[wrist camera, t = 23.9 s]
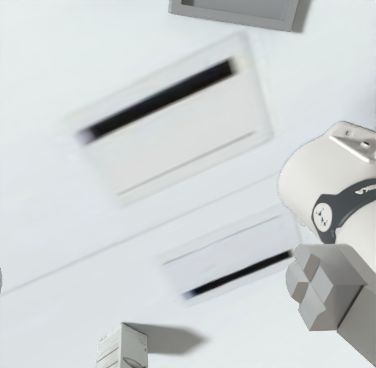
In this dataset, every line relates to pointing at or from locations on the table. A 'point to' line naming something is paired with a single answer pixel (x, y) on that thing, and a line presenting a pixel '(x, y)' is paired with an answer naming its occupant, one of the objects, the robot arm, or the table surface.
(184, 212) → the table surface
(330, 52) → the table surface
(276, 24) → the tray
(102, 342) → the supplement box
